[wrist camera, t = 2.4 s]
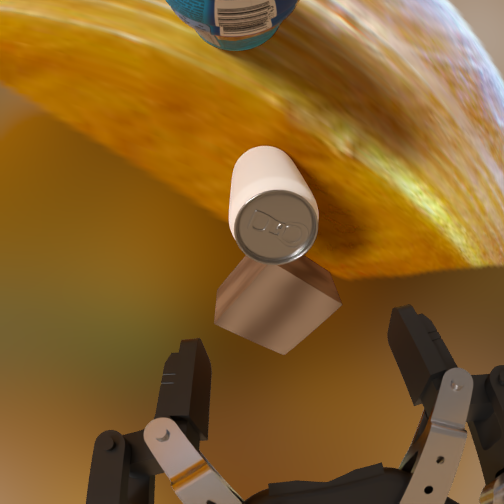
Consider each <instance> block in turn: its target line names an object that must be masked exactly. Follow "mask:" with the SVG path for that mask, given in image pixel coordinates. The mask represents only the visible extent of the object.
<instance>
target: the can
mask: <svg viewBox="0 0 504 504" xmlns="http://www.w3.org/2000/svg"><path fill="white" fill-rule="evenodd" d="M318 220H319V212H318V206H317V203H316V200H315V198H314V196H313V194H312V192H311V191H310V189H309V187H308V185H307V184H306V182H305V180H304V179H303V177H302V175H301V174H300V172H299V170H298V169H297V167H296V165H295V164H294V162H293V161H292V160H291V158H290V157H289V156H288V155H287V154H286V153H285V152H283V151H282V150H280V149H278V148H275V147H271V146H259V147H255V148H252V149H250V150H248V151H246V152H245V153H244V154H243V155H242V156H241V157H240V158H239V159H238V160H237V162H236V164H235V166H234V169H233V174H232V183H231V193H230V204H229V225H230V229H231V232H232V235H233V237H234V238H235V240H236V242H237V244H238V246H239V248H240V249H241V250H242V252H243V253H244V254H246V256H248V257H249V258H251V259H252V260H254V261H256V262H259V263H262V264H266V265H282V264H287V263H290V262H292V261H295V260H297V259H298V258H300V257H301V256H303V255H304V254H305V253H306V252H307V251H308V250H309V249H310V248H311V246H312V245H313V243H314V241H315V239H316V236H317V233H318Z"/></svg>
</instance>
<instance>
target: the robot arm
mask: <svg viewBox="0 0 504 504" xmlns="http://www.w3.org/2000/svg"><path fill="white" fill-rule="evenodd" d="M388 342H389V346H390V348H391V350H392V352H393V355H394V357H395V360H396V362H397V364H398V367H399V369H400V371H401V374H402V376H403V379H404V381H405V384H406V386H407V389H408V391H409V394H410V397H411V399H412V402H413V404H414V406H416V405H419V404H423V406H424V411H423V413H422V416H421V419H420V422H419V424H418V427H417V430H416V432H415V435H414V438H413V440H412V443H411V445H410V447H409V450H408V451H407V453H406V455H405V457H404V458H403V460H402V462H401V464H400V467H399V469H396V468H387V467H383V466H382V463H378V464H375V465H371V466H368V467H364V468H360V469H356V470H353V471H351V472H349V473H347V474H345V475H343V476H341V477H338V478H336V479H334V480H332V481H329V482H311V481H290V482H280V483H270V484H268V485H269V488H268V489H265V490H262V491H260V492H258V493H256V494H254V495H253V496H251V497H250V498H248V499H247V500H245V501H244V500H243V499H242V498H241V497H240V496H239V495H238V494H237V493H236V492H235V491H234V489H233V488H232V487H231V486H230V485H229V484H228V483H227V482H226V481H225V480H224V479H223V478H222V477H221V476H220V475H219V473H218V472H217V471H216V470H215V469H214V467H213V466H212V465H211V464H210V463H209V462H208V460H207V459H206V458H205V457H204V455H203V454H202V453H201V452H200V451H199V443H200V441H201V440H202V441H203V440H208V424H209V423H208V422H209V406H210V390H211V374H212V373H211V372H212V371H211V363H210V360H209V357H208V355H207V353H206V350H205V348H204V346H203V343H202V341H201V339H200V338H196V339H185V340H182V341H181V344H180V350H179V353H171V355H170V356H169V358H168V360H167V361H166V362H165V366H164V371H163V376H162V381H161V383H162V384H161V386H160V392H159V397H158V403H157V409H156V414H155V417H154V420H152V421H151V422H150V423H149V424H148V425H147V426H146V428H145V429H143V430H141V431H138V432H134V433H130V434H126V435H121V434H120V433H119V432H117V431H114V430H108V431H105V432H103V433H101V434H100V435H99V436H98V437H97V439H96V441H95V445H94V451H93V456H92V462H91V469H90V476H89V484H88V491H87V499H86V504H154V490H155V475H156V474H160V473H164V472H165V473H166V475H167V476H168V478H169V479H170V481H171V486H172V488H173V490H174V492H175V493H176V494H177V496H178V497H179V498H180V500H181V501H182V502H183V504H459V503H457V502H456V501H454V500H452V499H450V498H449V497H447V495H448V493H449V491H450V488H451V485H452V483H453V480H454V477H455V474H456V471H457V468H458V465H459V462H460V459H461V456H462V453H463V449H464V445H465V442H466V438H467V431H466V430H465V428H464V427H465V423H466V422H467V423H468V426H469V429H470V432H471V435H472V438H473V441H474V444H475V447H476V451H477V454H478V457H479V460H480V464H481V468H482V472H483V476H484V479H485V484H486V485H485V487H484V488H483V490H482V492H481V496H480V499H479V502H480V504H504V365H500V366H496V367H495V368H494V369H493V370H492V371H491V373H490V374H484V375H470V373H468V372H467V371H466V370H464V369H462V368H458V367H457V365H456V363H455V362H454V360H453V358H452V356H451V354H450V352H449V351H448V349H447V347H446V345H445V343H444V342H443V340H442V339H441V336H440V335H439V333H438V332H437V330H436V328H435V326H434V325H433V323H432V321H431V320H429V319H428V318H427V317H426V316H424V315H423V314H419V315H417V313H416V312H415V310H414V308H413V307H412V306H411V305H410V304H408V305H404V306H400V307H396V308H393V310H392V314H391V319H390V324H389V328H388Z"/></svg>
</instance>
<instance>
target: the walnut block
mask: <svg viewBox="0 0 504 504" xmlns="http://www.w3.org/2000/svg"><path fill="white" fill-rule="evenodd" d="M340 306H342V302H341V300H340V297H339V294H338V292H337V289H336V287H335V284H334V282H333V279H332V277H331V274H330V272H328V271H327V270H325V269H324V268H322V267H321V266H319V265H318V264H316V263H314V262H313V261H311V260H310V259H308V258H307V257H305V256H304V255H303V256H301V257H300V258H298V259H297V260H295V261H292V262H290V263H287V264H282V265H266V264H262V263H259V262H256V261H254V260H252V259H251V258H249V257H248V256H245V257H244V258H243V259H242V261H241V262H240V263H239V264H238V265H237V267H236V268H235V269H234V270H233V272H232V273H231V274H230V275H229V276H228V278H227V279H226V280H225V281H224V282H223V283H222V285H221V286H220V287H219V288H218V290H217V299H216V310H215V321H214V323H215V324H216V325H218V326H220V327H222V328H224V329H227V330H229V331H231V332H233V333H235V334H237V335H239V336H242V337H244V338H246V339H248V340H251V341H253V342H255V343H257V344H259V345H262V346H264V347H266V348H269V349H271V350H273V351H276V352H278V353H280V354H283V355H285V354H286V353H287V352H288V351H290V350H291V349H292V348H293V347H295V346H296V345H297V344H298V343H299V342H301V341H302V340H303V339H304V338H305V337H307V336H308V335H309V334H310V333H311V332H312V331H314V329H316V328H317V327H318V326H319V325H320V324H322V323H323V322H324V321H325V320H326V319H327V318H328V317H329V316H331V315H332V314H333V313H334V312H335V311H336V310H337V309H338V308H339V307H340Z"/></svg>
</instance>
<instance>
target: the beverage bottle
mask: <svg viewBox="0 0 504 504" xmlns="http://www.w3.org/2000/svg"><path fill="white" fill-rule="evenodd" d="M166 2H167V3H168V4H169V5H170V6H171V8H172V10H173V11H174V12H175V14H176V15H177V16H178V17H179V18H180V19H181V20H182V21H183V22H185V23H186V24H187V25H189V26H191V27H192V28H194V29H195V30H196V32H197V33H198V34H199V36H200V37H201V38H202V39H203V40H205V41H206V42H207V43H209V44H210V45H212V46H214V47H217V48H220V49H223V50H229V51H242V50H248V49H252V48H255V47H257V46H259V45H261V44H263V43H264V42H266V41H267V40H268V39H270V38H271V37H272V36H273V34H274V33H275V32H276V30H277V29H278V27H279V25H280V24H281V22H282V21H283V20H284V19H285V18H286V17H288V16H289V15H290V13H291V12H292V11H293V10H294V8H295V7H296V5H297V4H298V2H299V0H166Z"/></svg>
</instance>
